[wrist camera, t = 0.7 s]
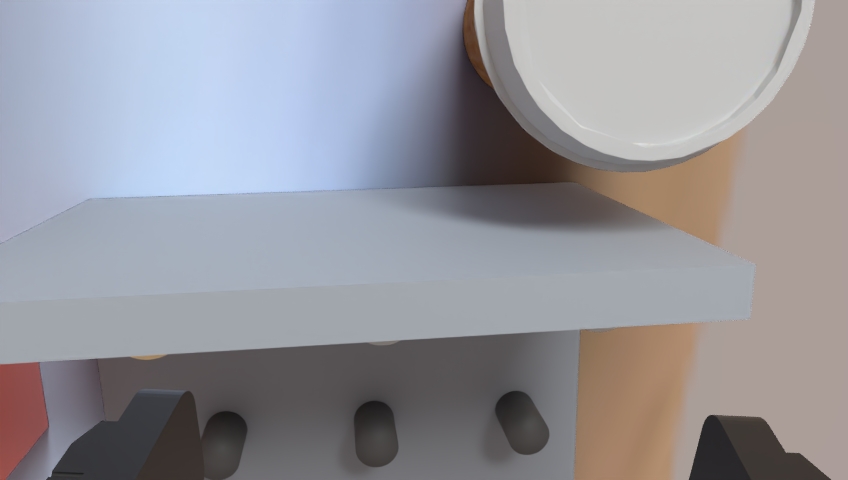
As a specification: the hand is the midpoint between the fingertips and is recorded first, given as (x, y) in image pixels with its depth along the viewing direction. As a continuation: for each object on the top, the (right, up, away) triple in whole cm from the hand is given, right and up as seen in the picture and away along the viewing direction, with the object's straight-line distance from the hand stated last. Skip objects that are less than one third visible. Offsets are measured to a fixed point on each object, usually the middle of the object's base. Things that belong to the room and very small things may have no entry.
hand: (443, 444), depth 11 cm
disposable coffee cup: (+4, +12, +19) cm, 23 cm away
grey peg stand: (-4, -3, +21) cm, 22 cm away
